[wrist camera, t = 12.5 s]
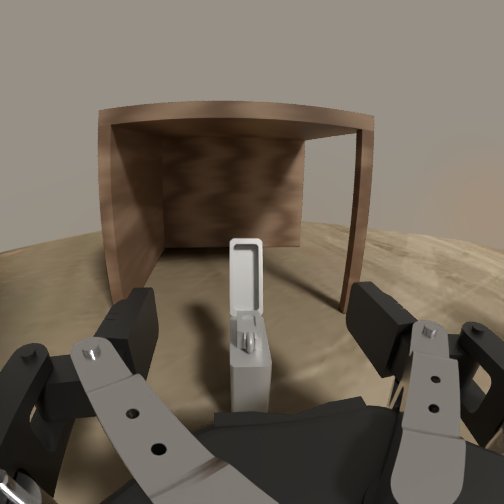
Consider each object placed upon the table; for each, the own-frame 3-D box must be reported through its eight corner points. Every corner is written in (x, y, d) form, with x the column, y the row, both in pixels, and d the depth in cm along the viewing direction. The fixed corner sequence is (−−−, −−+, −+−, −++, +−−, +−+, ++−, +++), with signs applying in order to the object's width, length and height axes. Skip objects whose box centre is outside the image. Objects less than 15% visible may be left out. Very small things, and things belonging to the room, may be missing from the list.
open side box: (116, 317, 22) (98, 110, 17) (159, 245, 41) (156, 131, 35) (353, 312, 24) (374, 116, 19) (297, 244, 43) (303, 132, 38)
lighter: (267, 427, 13) (278, 284, 10) (232, 428, 12) (228, 285, 10) (256, 346, 19) (260, 233, 17) (231, 347, 19) (229, 232, 17)
